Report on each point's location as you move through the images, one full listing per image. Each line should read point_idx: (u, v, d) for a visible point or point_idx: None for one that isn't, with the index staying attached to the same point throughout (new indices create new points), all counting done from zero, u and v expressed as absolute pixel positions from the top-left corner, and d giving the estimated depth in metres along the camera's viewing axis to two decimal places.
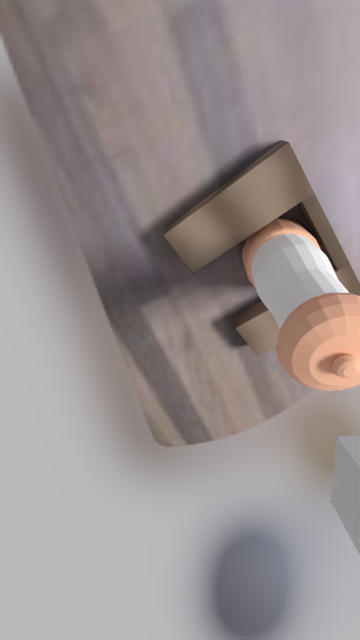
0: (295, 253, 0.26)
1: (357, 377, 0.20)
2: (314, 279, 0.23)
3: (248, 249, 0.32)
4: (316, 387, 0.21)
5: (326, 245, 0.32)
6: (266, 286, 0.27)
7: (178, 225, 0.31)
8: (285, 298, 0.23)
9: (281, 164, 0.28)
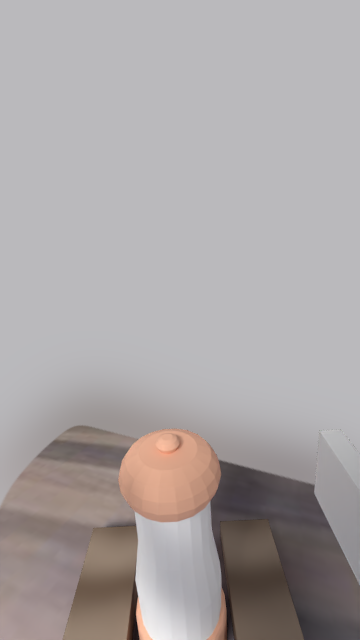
0: (216, 572, 0.24)
1: (142, 451, 0.22)
2: (208, 528, 0.22)
3: None
4: (149, 434, 0.24)
5: None
6: None
7: (271, 534, 0.32)
8: None
9: None
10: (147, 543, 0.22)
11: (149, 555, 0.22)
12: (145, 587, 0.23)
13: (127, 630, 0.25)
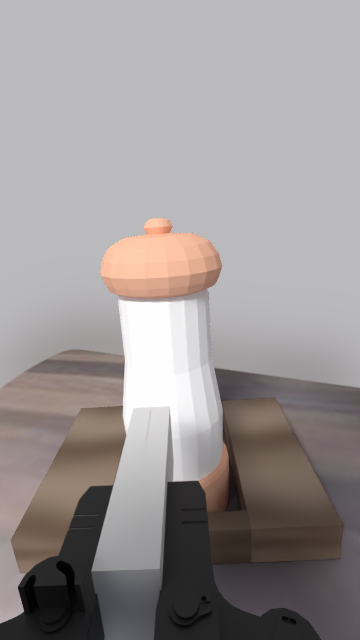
0: (216, 397, 0.20)
1: (128, 237, 0.18)
2: (206, 334, 0.19)
3: None
4: None
5: None
6: None
7: (279, 408, 0.29)
8: None
9: (313, 506, 0.19)
10: (134, 344, 0.18)
11: (136, 361, 0.18)
12: (133, 407, 0.19)
13: (114, 479, 0.22)
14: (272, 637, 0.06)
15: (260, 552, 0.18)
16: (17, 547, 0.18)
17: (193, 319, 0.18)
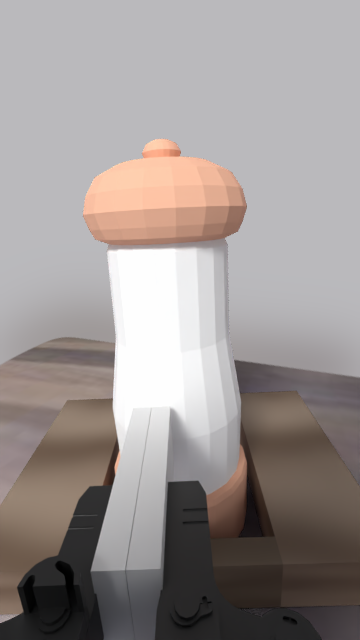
0: (234, 385, 0.15)
1: None
2: (224, 300, 0.14)
3: None
4: None
5: None
6: None
7: (303, 403, 0.24)
8: None
9: None
10: (127, 310, 0.13)
11: (130, 334, 0.14)
12: (125, 396, 0.15)
13: None
14: (273, 637, 0.06)
15: (293, 594, 0.14)
16: None
17: (208, 276, 0.13)
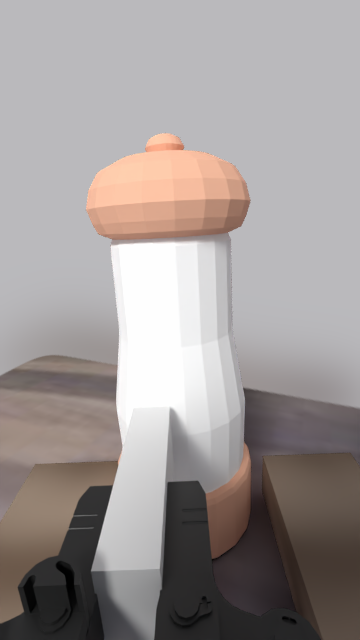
0: (237, 383, 0.15)
1: None
2: (227, 296, 0.14)
3: None
4: None
5: None
6: None
7: None
8: None
9: None
10: (128, 305, 0.14)
11: (132, 329, 0.14)
12: (126, 391, 0.15)
13: None
14: (272, 637, 0.06)
15: None
16: None
17: (209, 271, 0.13)
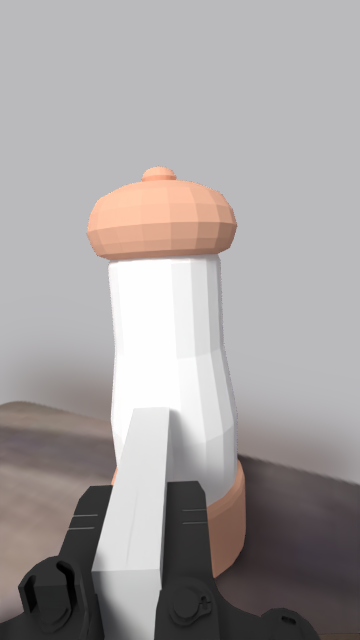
0: (229, 396, 0.16)
1: None
2: (218, 312, 0.15)
3: None
4: None
5: None
6: None
7: None
8: None
9: None
10: (126, 320, 0.14)
11: (129, 343, 0.14)
12: (123, 405, 0.15)
13: None
14: (272, 637, 0.06)
15: None
16: None
17: (201, 287, 0.14)
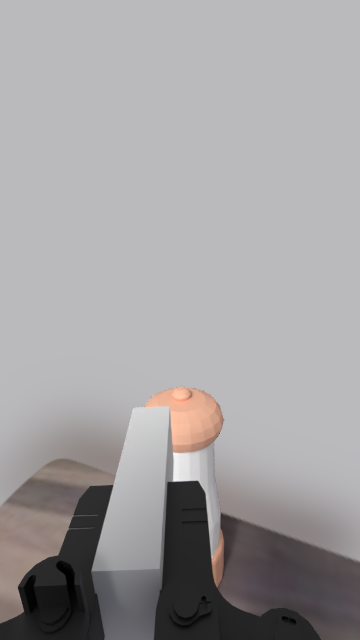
0: (217, 504, 0.29)
1: (160, 400, 0.27)
2: (212, 465, 0.28)
3: None
4: (163, 391, 0.29)
5: None
6: None
7: None
8: None
9: None
10: None
11: None
12: None
13: None
14: (272, 637, 0.06)
15: None
16: None
17: (204, 460, 0.26)
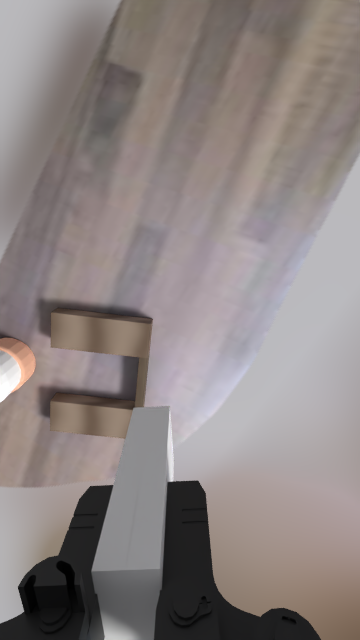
0: None
1: None
2: None
3: None
4: None
5: (136, 390, 0.46)
6: None
7: (64, 314, 0.43)
8: None
9: (141, 331, 0.44)
10: None
11: None
12: None
13: (113, 407, 0.47)
14: (272, 637, 0.06)
15: (149, 350, 0.46)
16: None
17: None
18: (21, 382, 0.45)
